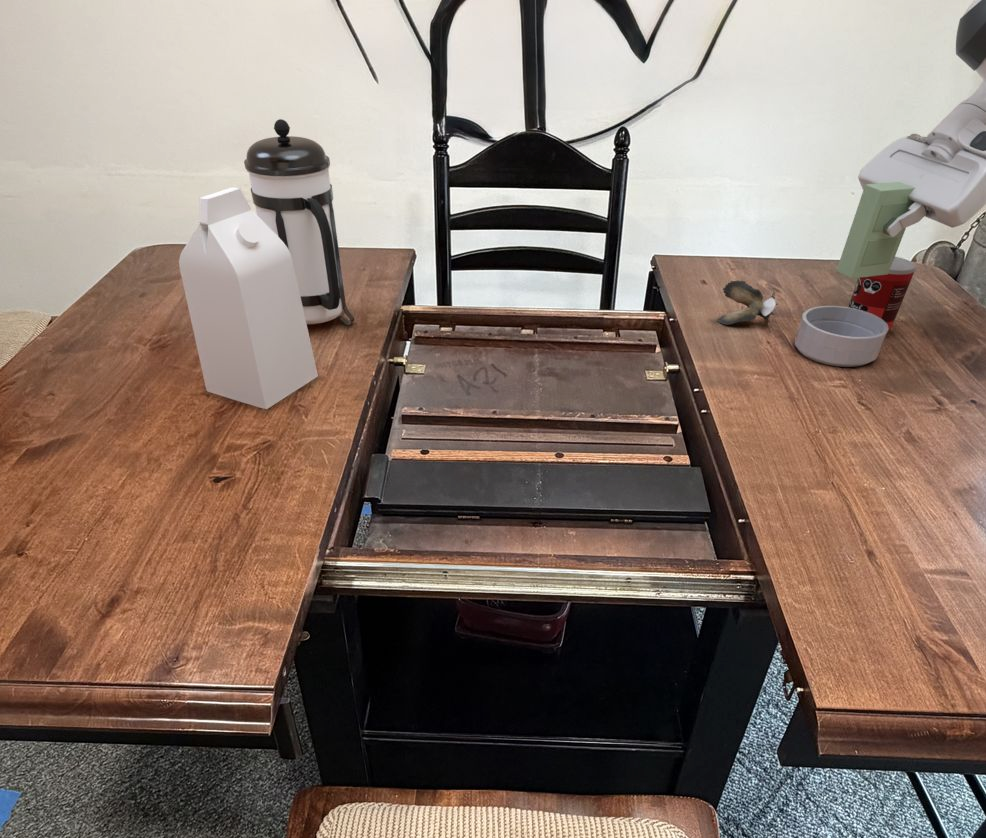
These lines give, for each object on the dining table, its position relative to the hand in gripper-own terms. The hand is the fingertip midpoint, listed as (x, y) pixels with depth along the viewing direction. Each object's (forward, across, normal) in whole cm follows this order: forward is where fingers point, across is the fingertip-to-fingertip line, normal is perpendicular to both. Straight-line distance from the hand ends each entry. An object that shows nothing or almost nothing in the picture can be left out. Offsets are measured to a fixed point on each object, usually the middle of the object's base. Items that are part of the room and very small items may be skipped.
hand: (875, 227), depth 105 cm
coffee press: (+71, -36, -43) cm, 90 cm away
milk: (+78, -16, -51) cm, 95 cm away
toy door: (+4, 0, +5) cm, 7 cm away
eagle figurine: (+19, -15, +9) cm, 26 cm away
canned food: (+5, -7, +23) cm, 24 cm away
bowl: (+13, 0, +14) cm, 19 cm away
